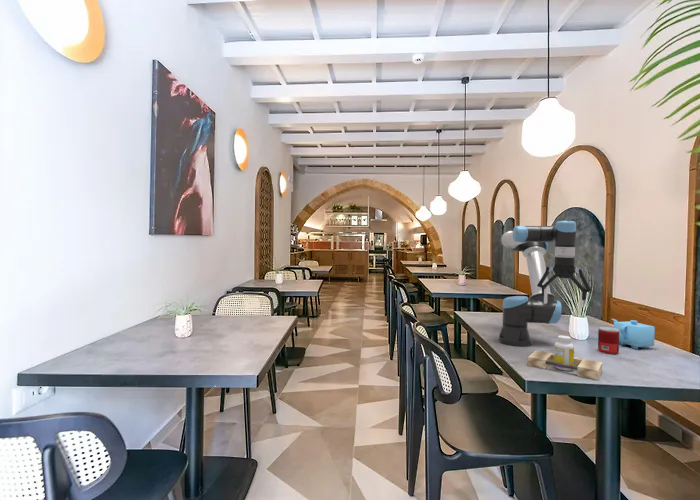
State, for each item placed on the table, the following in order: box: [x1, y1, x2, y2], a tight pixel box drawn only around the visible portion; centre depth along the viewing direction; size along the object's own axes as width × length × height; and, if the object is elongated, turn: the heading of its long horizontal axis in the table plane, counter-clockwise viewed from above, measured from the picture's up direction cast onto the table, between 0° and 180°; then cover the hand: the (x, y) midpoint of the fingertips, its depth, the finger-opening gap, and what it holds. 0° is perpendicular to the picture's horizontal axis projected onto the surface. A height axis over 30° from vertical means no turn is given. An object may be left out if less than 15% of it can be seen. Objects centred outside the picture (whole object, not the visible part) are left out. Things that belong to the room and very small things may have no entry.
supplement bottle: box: [554, 335, 575, 372], centre depth 146 cm, size 7×7×13 cm
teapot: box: [611, 318, 656, 350], centre depth 183 cm, size 18×16×13 cm
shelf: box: [527, 349, 603, 381], centre depth 146 cm, size 24×13×4 cm, turn 49°
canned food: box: [597, 326, 620, 355], centre depth 170 cm, size 8×8×11 cm
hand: (562, 305), depth 158 cm, fingers open, 13 cm apart
